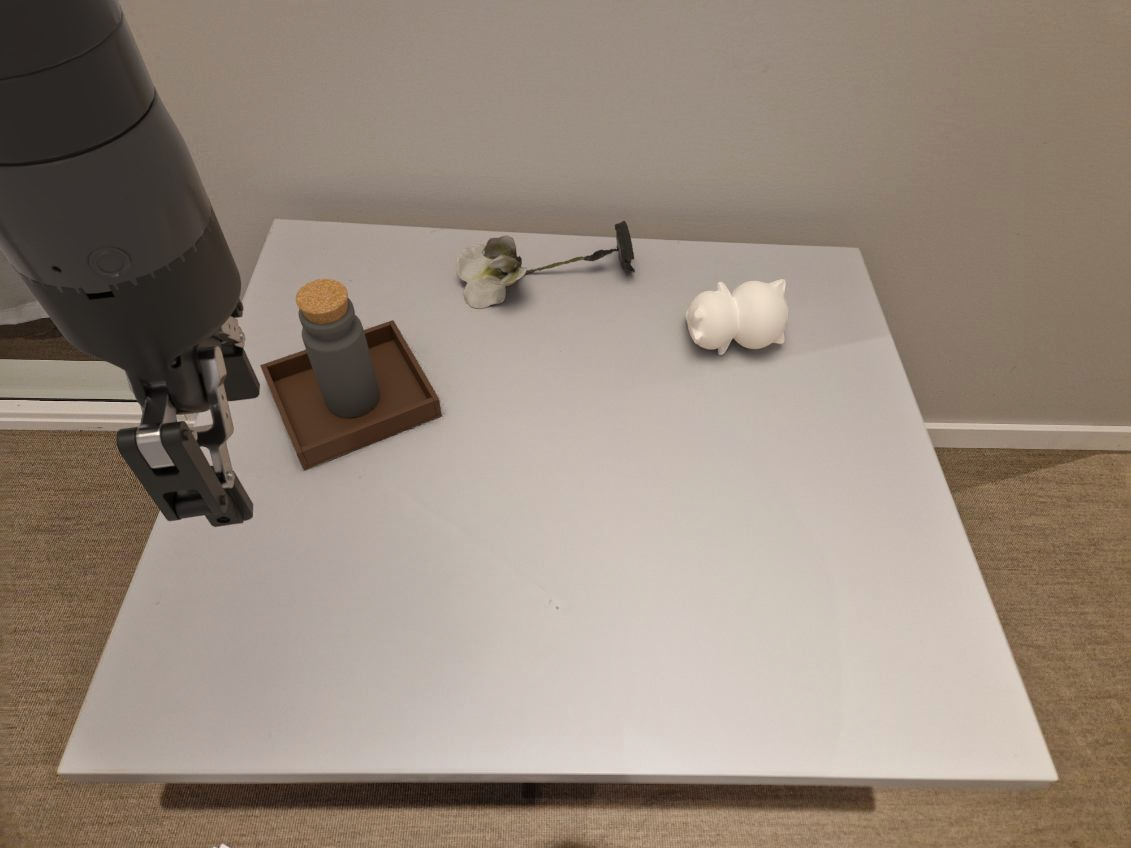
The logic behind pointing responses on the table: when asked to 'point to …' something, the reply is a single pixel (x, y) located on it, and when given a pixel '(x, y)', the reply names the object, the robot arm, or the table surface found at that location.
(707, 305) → the cat figurine
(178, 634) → the table surface
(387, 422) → the tray
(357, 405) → the bottle
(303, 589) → the table surface
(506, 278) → the artificial flower
